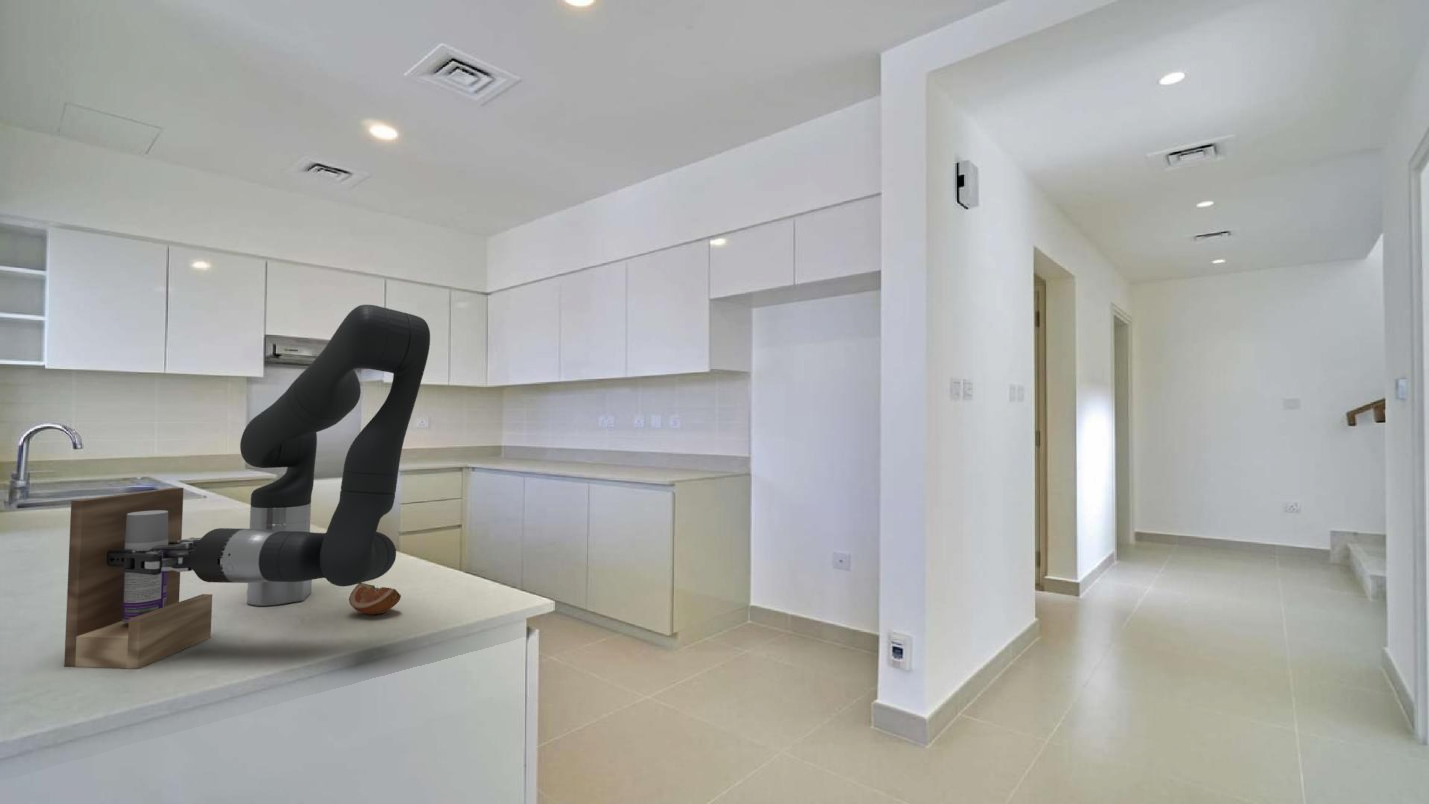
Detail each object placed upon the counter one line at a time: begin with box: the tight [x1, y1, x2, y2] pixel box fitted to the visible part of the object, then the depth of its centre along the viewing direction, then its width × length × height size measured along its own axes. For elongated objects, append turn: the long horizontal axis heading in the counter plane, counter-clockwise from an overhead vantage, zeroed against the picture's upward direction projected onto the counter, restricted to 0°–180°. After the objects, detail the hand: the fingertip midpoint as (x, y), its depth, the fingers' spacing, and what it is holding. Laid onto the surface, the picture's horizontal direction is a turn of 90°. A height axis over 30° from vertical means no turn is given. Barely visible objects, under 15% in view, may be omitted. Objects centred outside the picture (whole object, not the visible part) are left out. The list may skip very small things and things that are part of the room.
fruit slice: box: [348, 582, 402, 616], centre depth 110 cm, size 8×7×5 cm
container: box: [122, 510, 168, 623], centre depth 91 cm, size 5×5×15 cm
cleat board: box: [63, 487, 213, 670], centre depth 93 cm, size 10×16×22 cm, turn 179°
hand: (128, 553), depth 92 cm, fingers open, 5 cm apart
